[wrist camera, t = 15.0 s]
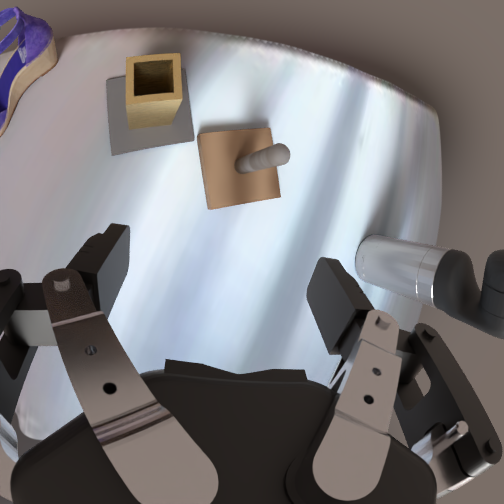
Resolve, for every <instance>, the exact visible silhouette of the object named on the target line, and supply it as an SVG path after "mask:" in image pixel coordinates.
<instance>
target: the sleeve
mask: <svg viewBox="0 0 504 504" xmlns="http://www.w3.org/2000/svg"><path fill="white" fill-rule="evenodd" d="M157 93H162V94H157ZM147 94H151V95H147ZM139 95H142V96H139ZM182 99H183V98H182V81H181V58H180V53H170V54H155V55H143V56H134V57H126V111H127V119H128V126H129V130H132V129H139V128H147V127H155V126H164V125H171V124H172V122H173V119H174V117H175V115H176V112H177V110H178V108H179V106H180V104H181V101H182Z"/></svg>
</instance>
